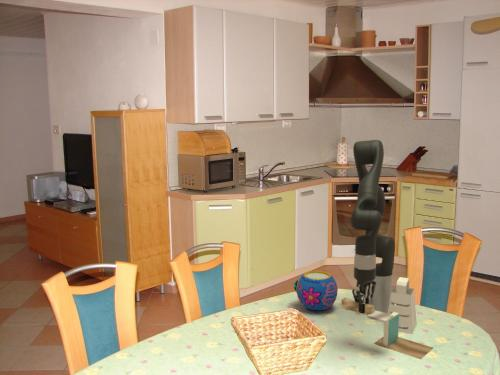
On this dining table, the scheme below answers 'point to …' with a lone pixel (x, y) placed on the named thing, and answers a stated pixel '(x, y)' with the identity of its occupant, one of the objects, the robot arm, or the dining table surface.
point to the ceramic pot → (316, 290)
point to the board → (407, 347)
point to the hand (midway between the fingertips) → (363, 311)
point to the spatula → (366, 310)
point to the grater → (403, 305)
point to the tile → (391, 330)
